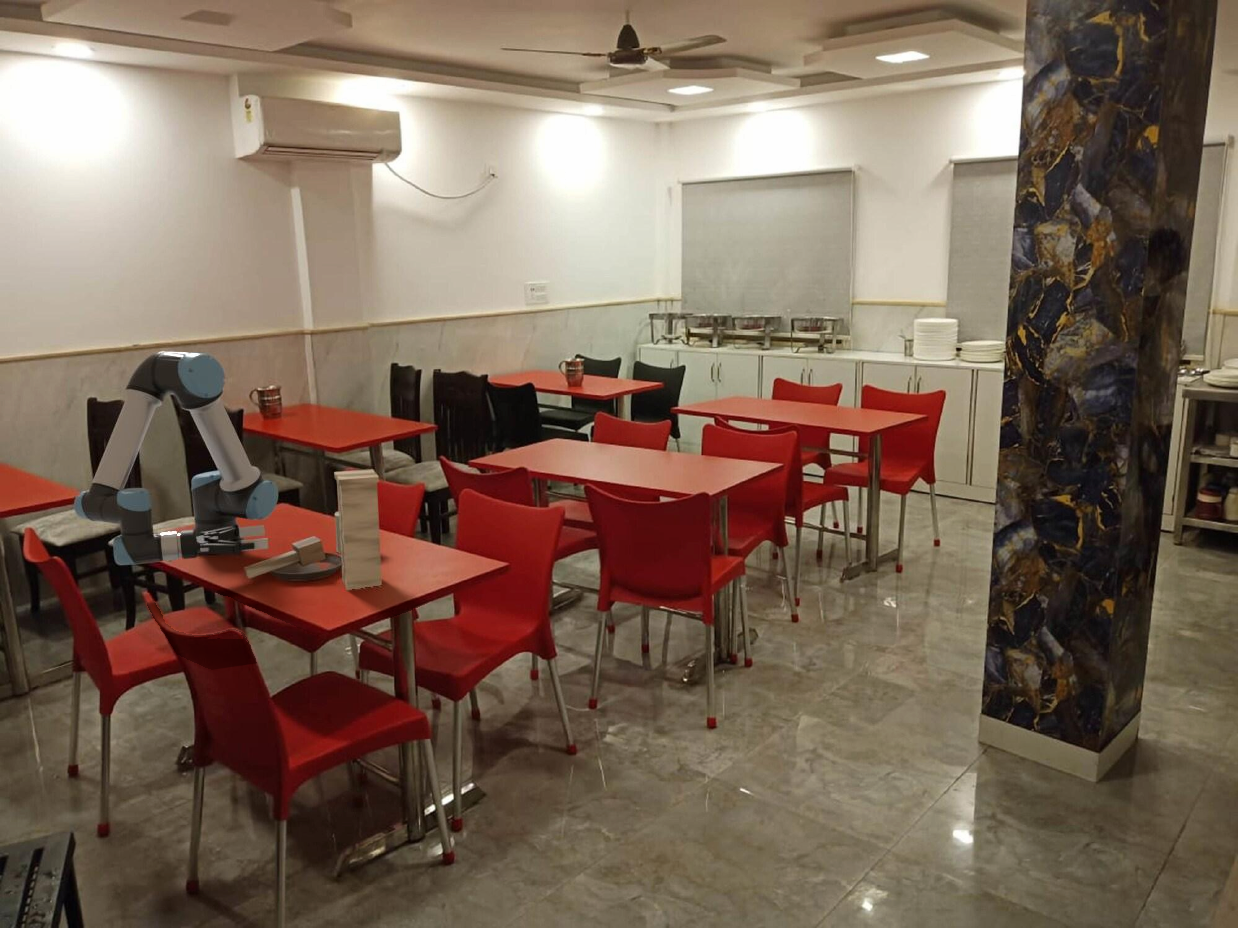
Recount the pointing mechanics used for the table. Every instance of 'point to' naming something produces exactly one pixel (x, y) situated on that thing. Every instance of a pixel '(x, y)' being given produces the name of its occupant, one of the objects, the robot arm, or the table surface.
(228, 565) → the table surface
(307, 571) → the plant saucer
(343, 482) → the stand
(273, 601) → the table surface
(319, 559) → the mallet
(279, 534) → the table surface
